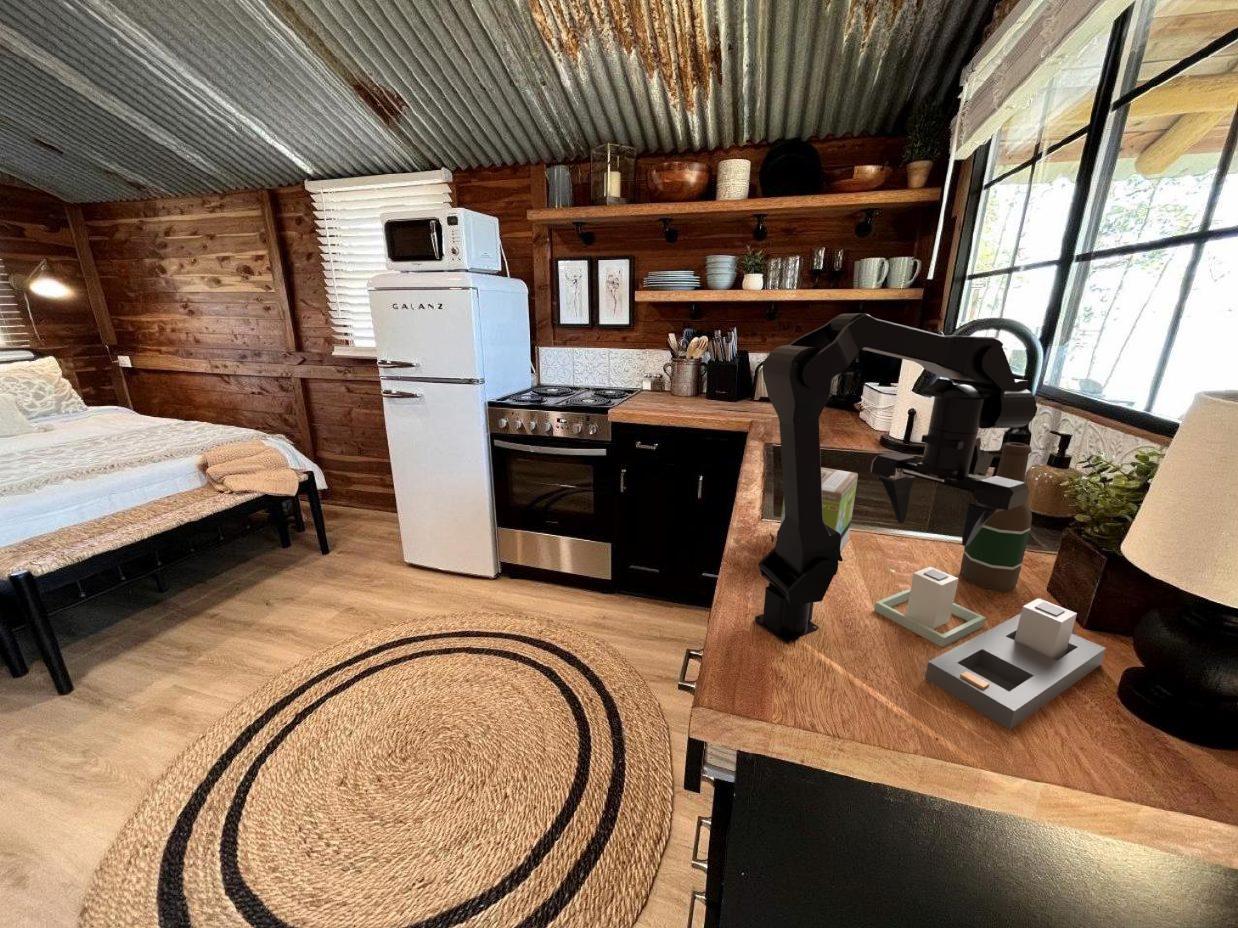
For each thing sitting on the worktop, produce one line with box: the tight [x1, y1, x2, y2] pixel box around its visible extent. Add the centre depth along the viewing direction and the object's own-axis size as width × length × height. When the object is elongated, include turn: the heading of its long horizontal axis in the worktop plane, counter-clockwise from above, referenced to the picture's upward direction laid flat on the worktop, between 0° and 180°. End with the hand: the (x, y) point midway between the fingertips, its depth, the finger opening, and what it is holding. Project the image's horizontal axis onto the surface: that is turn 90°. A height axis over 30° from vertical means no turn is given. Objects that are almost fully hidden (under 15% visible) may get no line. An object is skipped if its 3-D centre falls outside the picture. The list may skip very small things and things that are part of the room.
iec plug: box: [905, 566, 960, 630], centre depth 72 cm, size 4×4×7 cm
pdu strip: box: [924, 612, 1107, 731], centre depth 62 cm, size 25×9×3 cm, turn 118°
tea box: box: [779, 466, 859, 553], centre depth 94 cm, size 15×10×15 cm
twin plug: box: [1014, 597, 1078, 660], centre depth 63 cm, size 4×4×7 cm
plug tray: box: [873, 587, 987, 648], centre depth 73 cm, size 10×10×2 cm
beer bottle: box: [959, 441, 1033, 592], centre depth 80 cm, size 8×8×24 cm
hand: (931, 533), depth 73 cm, fingers open, 9 cm apart
